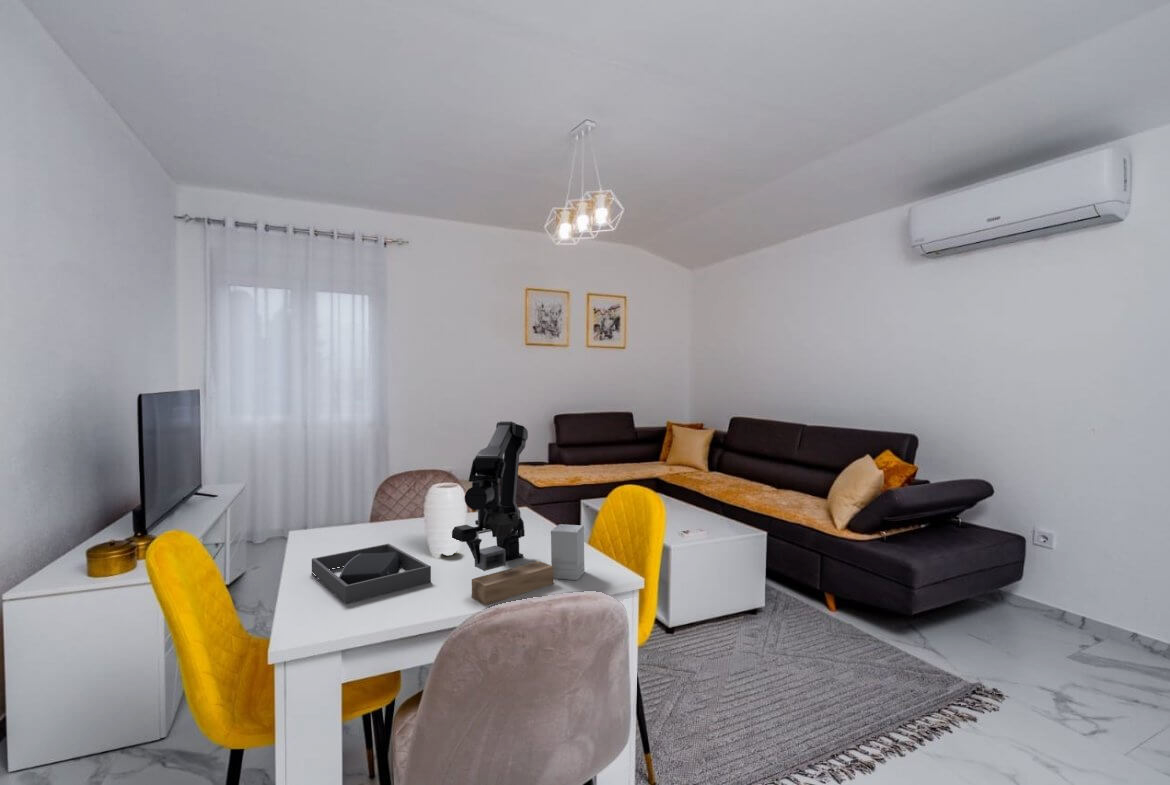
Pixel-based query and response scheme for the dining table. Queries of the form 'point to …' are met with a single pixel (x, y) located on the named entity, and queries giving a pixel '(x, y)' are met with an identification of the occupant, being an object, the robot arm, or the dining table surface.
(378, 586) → the bumper frame
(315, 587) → the dining table surface
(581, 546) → the supplement box
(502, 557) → the box
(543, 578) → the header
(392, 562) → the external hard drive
